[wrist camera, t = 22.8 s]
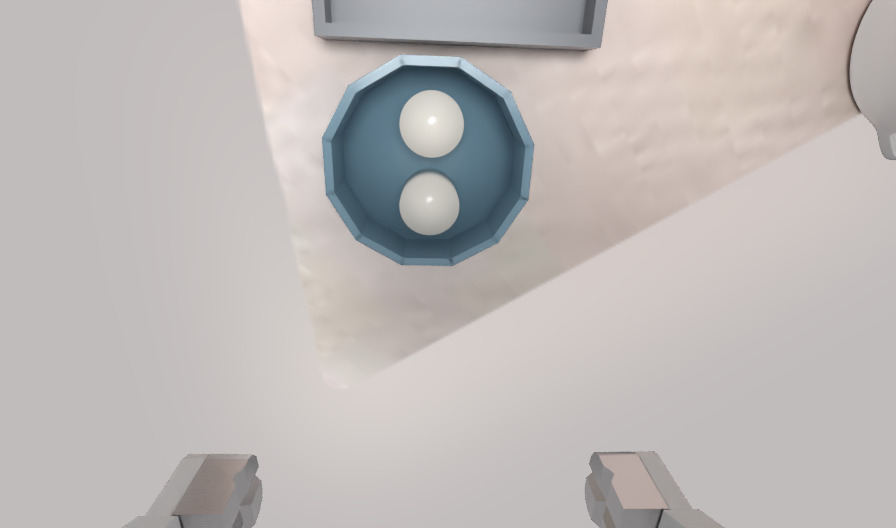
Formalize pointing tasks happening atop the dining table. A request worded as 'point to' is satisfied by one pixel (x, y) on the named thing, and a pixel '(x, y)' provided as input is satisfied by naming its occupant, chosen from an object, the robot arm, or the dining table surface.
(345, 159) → the bowl
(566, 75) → the dining table surface
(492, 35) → the tray
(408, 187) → the stone
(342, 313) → the dining table surface
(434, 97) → the stone
